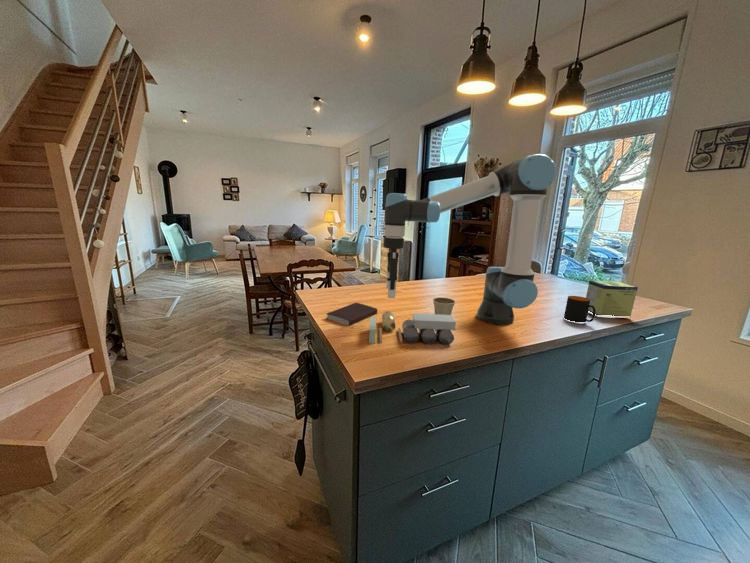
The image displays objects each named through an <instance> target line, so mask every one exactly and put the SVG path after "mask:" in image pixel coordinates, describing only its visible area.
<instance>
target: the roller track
mask: <svg viewBox="0 0 750 563" xmlns="http://www.w3.org/2000/svg"><path fill="white" fill-rule="evenodd" d="M401 327H402V328H400V327H398V328H397V332H398V339H399V344H400V345H402V344H404V342H403V338H404V340H405V342H407V343H408V344H410V345H411V344H416V343H417V342H418V341H419V339H420V337H421V339H422V343H424V344H426V345H432V344H434V343H435V342H436V341H437V338H438V340H439V342H440V343H441V344H442V345H444V346H445V345H446V346H448V345H450V344H452V343H453V342H454V340H455V337H454V333H453V332H452V330H441V329H416V328H414V325H413V322H412V319H406V320H404V321H403V322H402V324H401ZM401 329H402V331H401ZM378 331H379V334H378V335H379V344H382V343H383V327H379V330H378ZM402 333H403V335H402Z"/></svg>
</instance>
